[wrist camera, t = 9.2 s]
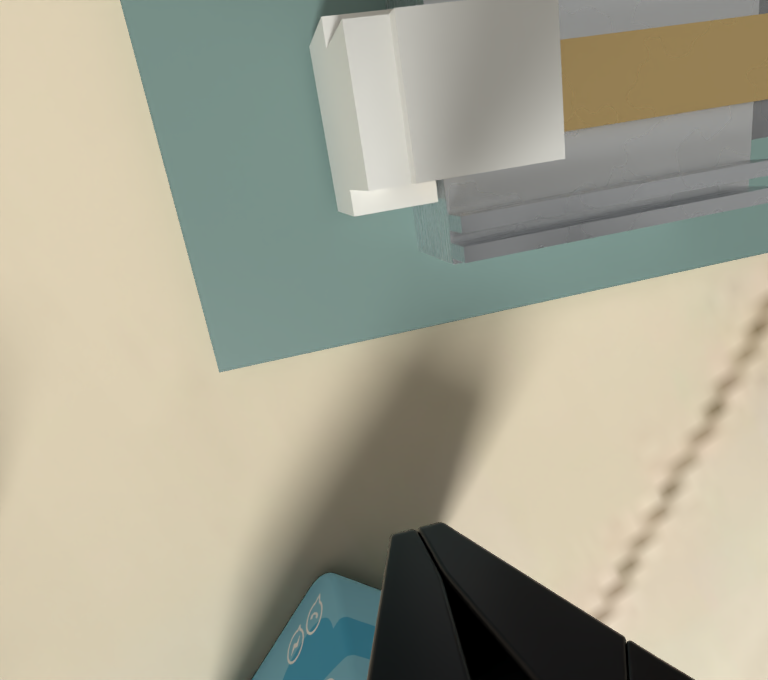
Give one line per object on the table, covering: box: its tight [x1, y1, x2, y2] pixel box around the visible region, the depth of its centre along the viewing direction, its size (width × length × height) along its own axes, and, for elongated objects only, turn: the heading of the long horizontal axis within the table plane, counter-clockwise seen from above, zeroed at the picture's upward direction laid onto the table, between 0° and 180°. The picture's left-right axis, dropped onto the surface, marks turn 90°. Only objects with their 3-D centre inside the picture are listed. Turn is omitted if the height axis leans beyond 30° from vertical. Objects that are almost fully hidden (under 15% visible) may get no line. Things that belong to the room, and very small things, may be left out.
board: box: [120, 0, 768, 372], centre depth 18 cm, size 24×14×1 cm, turn 99°
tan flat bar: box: [560, 13, 768, 132], centre depth 14 cm, size 12×3×1 cm, turn 99°
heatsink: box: [385, 0, 768, 265], centre depth 16 cm, size 12×8×4 cm
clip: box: [309, 0, 565, 217], centre depth 14 cm, size 5×5×6 cm
